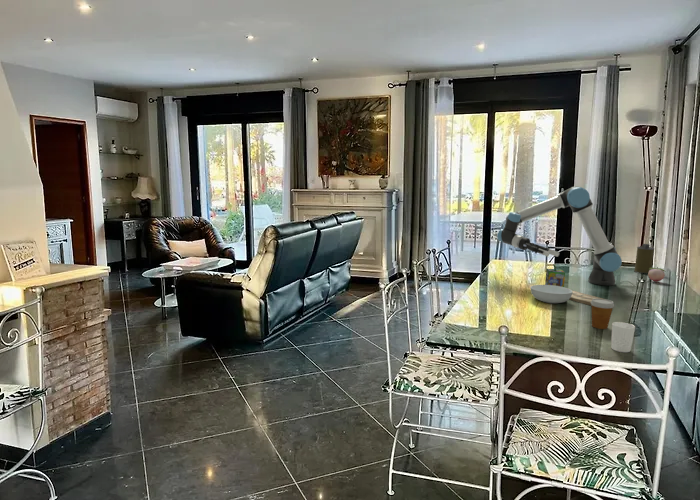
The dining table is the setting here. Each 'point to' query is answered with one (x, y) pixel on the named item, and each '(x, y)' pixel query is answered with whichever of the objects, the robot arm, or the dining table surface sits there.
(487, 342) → the dining table surface
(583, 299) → the oak board
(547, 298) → the serving bowl
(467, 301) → the dining table surface
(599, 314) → the disposable coffee cup
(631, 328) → the white cup
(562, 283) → the chalk box
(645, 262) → the canister
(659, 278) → the decorative fruit
